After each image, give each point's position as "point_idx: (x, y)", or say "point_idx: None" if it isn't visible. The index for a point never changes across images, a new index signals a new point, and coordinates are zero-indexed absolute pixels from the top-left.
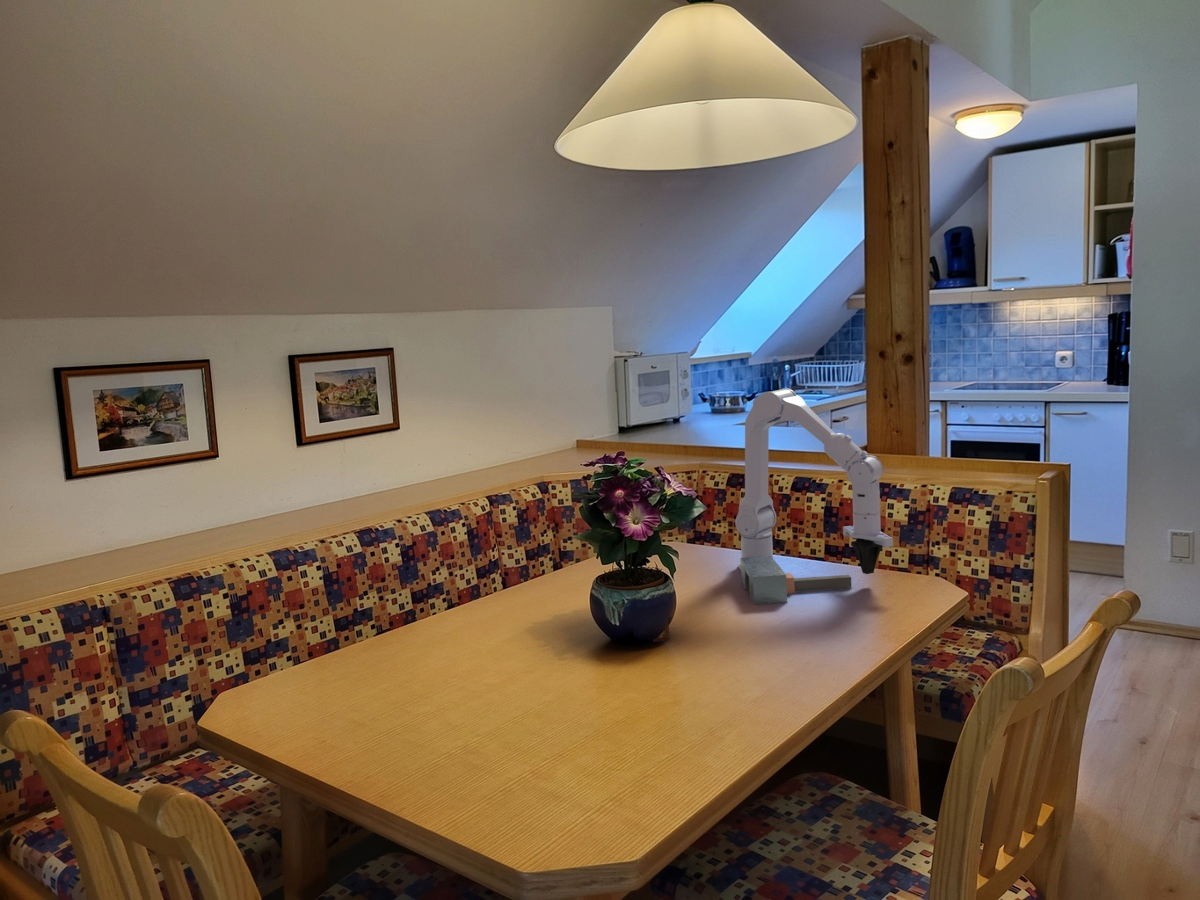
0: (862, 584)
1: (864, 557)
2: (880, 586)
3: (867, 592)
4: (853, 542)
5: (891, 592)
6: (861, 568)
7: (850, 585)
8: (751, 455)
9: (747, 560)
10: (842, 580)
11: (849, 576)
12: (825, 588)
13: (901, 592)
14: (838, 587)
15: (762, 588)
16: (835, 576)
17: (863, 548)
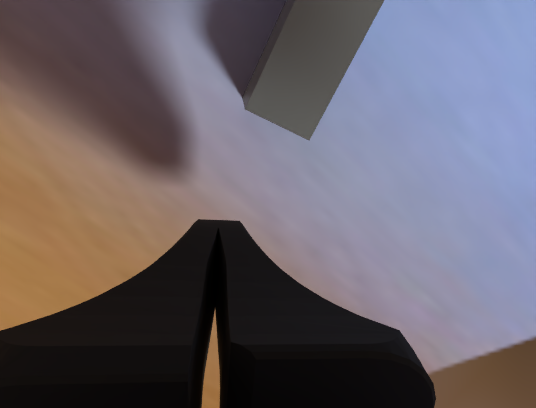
0: (259, 200)
1: (149, 276)
2: (168, 248)
3: (104, 112)
4: (373, 387)
5: (33, 222)
6: (242, 228)
7: (246, 94)
8: None
9: None
10: (275, 39)
11: (270, 114)
12: None
13: (7, 261)
14: (282, 10)
15: None
16: (344, 18)
17: (32, 334)
